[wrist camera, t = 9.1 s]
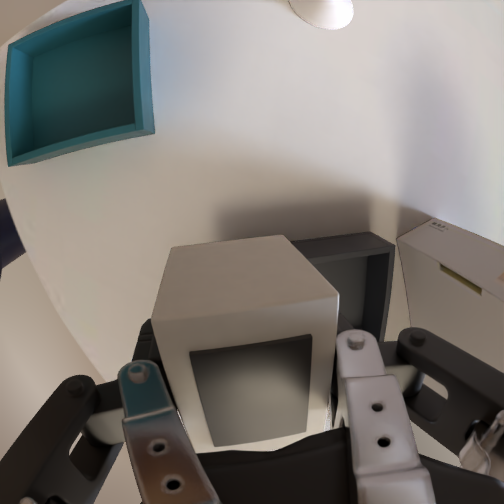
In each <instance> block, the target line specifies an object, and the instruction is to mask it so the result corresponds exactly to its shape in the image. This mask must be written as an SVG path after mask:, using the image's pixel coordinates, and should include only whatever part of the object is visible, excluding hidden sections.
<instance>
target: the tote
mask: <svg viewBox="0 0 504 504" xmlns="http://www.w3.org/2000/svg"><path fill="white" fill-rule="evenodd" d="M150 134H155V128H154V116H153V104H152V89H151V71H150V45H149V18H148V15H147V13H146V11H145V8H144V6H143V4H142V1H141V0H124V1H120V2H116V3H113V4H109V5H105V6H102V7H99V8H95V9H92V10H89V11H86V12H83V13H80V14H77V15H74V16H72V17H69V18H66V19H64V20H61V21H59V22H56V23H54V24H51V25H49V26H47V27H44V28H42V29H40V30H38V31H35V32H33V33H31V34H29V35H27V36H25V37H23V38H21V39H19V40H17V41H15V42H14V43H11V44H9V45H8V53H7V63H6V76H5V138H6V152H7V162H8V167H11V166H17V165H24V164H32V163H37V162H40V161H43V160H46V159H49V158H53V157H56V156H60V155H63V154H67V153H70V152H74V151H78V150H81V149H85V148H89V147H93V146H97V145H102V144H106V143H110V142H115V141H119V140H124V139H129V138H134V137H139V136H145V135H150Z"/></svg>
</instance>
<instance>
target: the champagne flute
mask: <svg viewBox="0 0 504 504" xmlns="http://www.w3.org/2000/svg"><path fill="white" fill-rule="evenodd" d="M289 3H290V5H291V7H292V9H293V10H294V11H295V13H296V14H297V15H298V16H299V17H300V18H302V19H303V20H304V21H306V22H308V23H309V24H311V25H313V26H316V27H319V28H323V29H339V28H342V27H344V26H346V25H347V24H348V23H349V22H350V21H351V19H352V17H353V6H352V3H351V1H350V0H289Z"/></svg>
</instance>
